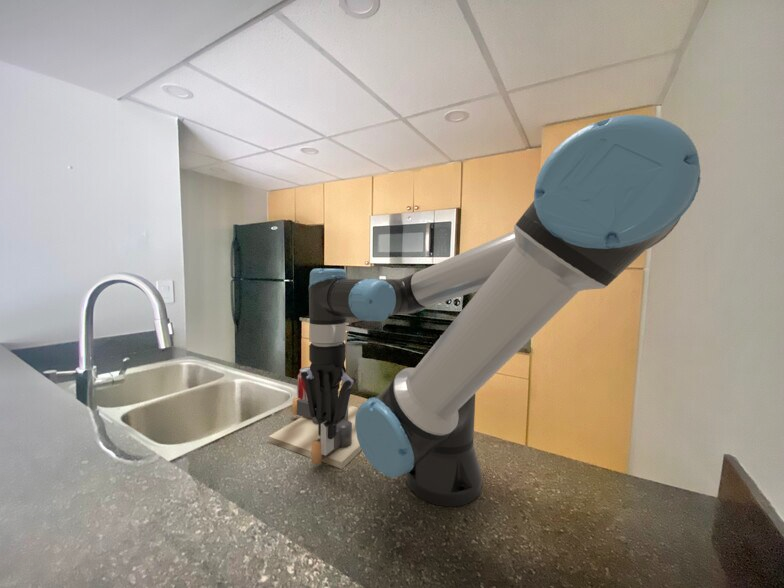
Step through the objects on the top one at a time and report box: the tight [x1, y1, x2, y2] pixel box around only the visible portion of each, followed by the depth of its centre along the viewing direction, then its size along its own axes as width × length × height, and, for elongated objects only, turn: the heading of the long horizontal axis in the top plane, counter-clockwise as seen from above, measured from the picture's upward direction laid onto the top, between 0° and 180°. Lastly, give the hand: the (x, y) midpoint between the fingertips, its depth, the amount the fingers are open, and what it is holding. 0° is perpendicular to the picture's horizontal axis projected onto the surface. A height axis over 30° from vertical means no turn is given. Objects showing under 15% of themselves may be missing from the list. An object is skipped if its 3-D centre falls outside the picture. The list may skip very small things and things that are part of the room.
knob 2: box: [310, 420, 352, 465], centre depth 67 cm, size 12×4×4 cm, turn 148°
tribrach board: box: [268, 392, 362, 470], centre depth 78 cm, size 22×24×10 cm
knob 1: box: [292, 397, 318, 424], centre depth 82 cm, size 12×4×4 cm, turn 64°
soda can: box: [296, 366, 310, 401], centre depth 92 cm, size 7×7×12 cm
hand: (327, 451), depth 63 cm, fingers closed
